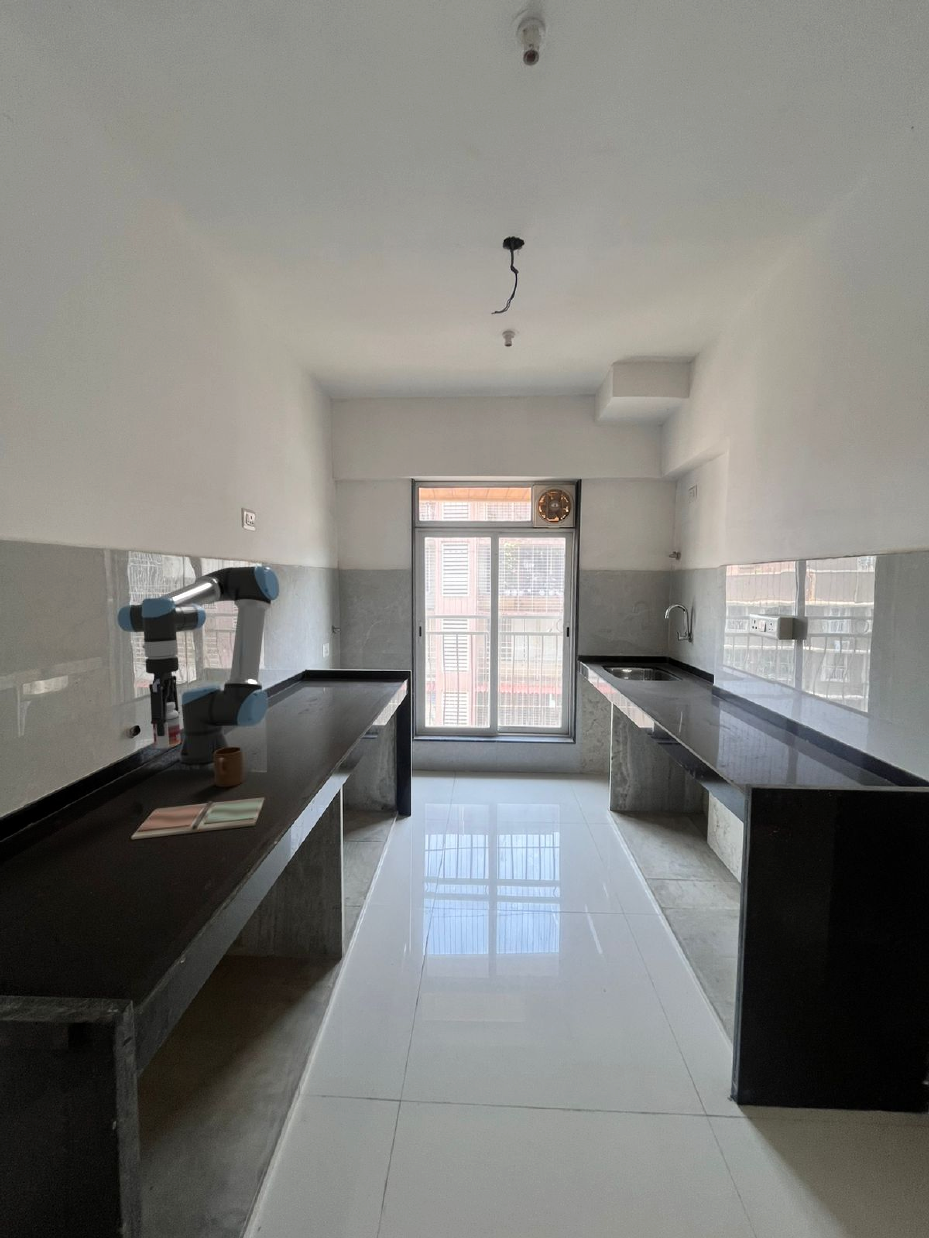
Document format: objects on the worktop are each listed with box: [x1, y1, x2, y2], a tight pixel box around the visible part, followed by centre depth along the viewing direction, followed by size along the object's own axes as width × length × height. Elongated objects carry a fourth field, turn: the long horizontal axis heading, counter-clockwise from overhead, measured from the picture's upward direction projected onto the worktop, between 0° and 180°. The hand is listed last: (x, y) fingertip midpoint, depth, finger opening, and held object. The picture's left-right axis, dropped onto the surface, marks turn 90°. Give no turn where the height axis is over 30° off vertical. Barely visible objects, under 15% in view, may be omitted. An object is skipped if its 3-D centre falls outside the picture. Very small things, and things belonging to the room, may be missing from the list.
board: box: [131, 797, 265, 840], centre depth 134 cm, size 16×26×1 cm, turn 102°
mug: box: [213, 746, 245, 788], centre depth 156 cm, size 12×8×9 cm, turn 3°
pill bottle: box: [152, 702, 182, 748], centre depth 146 cm, size 6×6×11 cm
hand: (167, 743), depth 146 cm, fingers closed on pill bottle, 6 cm apart
